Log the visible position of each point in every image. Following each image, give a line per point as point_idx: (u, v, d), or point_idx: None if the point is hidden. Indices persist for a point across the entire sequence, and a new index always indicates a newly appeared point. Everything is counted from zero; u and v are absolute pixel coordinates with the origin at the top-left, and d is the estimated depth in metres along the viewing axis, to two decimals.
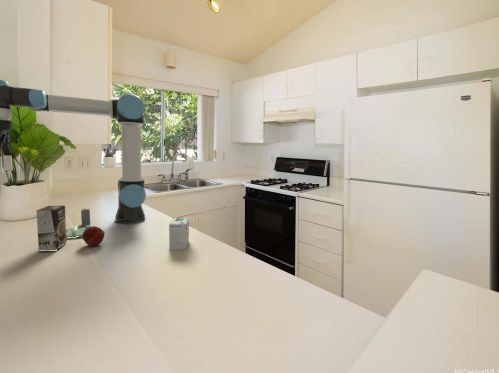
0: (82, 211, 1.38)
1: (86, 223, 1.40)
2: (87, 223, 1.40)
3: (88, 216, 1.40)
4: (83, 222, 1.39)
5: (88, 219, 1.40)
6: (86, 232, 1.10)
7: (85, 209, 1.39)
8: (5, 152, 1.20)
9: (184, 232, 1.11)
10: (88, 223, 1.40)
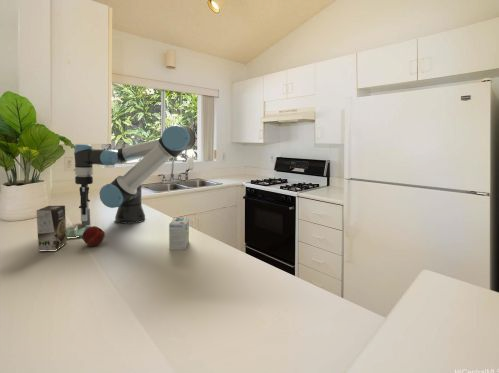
0: None
1: (86, 223, 1.40)
2: (87, 223, 1.40)
3: (88, 216, 1.40)
4: (83, 222, 1.39)
5: (88, 219, 1.40)
6: (86, 232, 1.10)
7: None
8: None
9: (184, 232, 1.11)
10: (88, 223, 1.40)
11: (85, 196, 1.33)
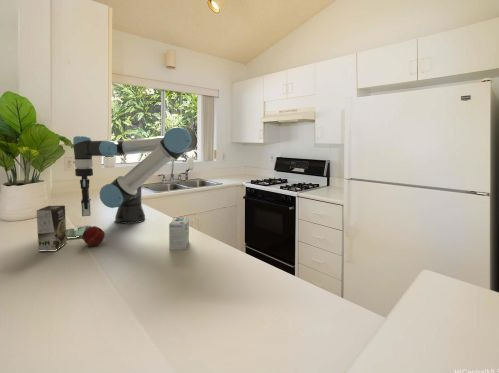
0: None
1: None
2: None
3: None
4: None
5: None
6: (86, 232, 1.10)
7: None
8: None
9: (184, 232, 1.11)
10: None
11: (86, 191, 1.34)
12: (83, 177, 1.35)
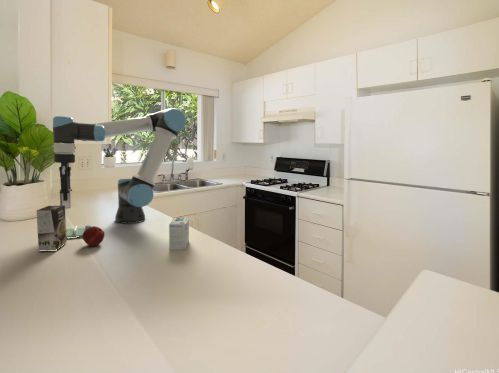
0: None
1: None
2: None
3: None
4: None
5: None
6: (86, 232, 1.10)
7: None
8: None
9: (184, 232, 1.11)
10: None
11: (66, 180, 1.16)
12: (63, 164, 1.17)
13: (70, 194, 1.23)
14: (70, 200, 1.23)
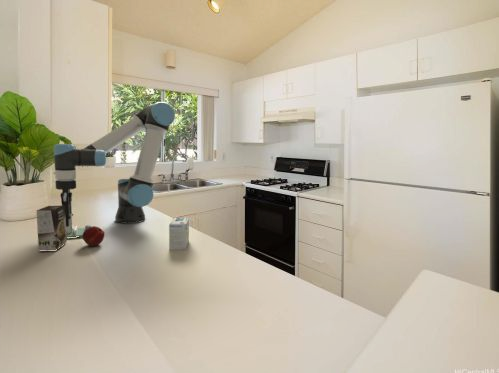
0: None
1: None
2: None
3: None
4: None
5: None
6: (86, 232, 1.10)
7: None
8: None
9: (184, 232, 1.11)
10: None
11: (67, 207, 1.18)
12: (64, 190, 1.18)
13: (71, 219, 1.25)
14: (71, 225, 1.24)
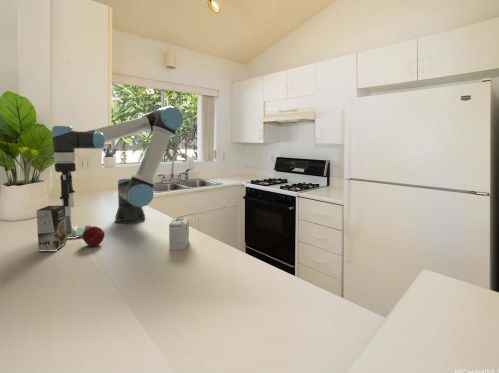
0: None
1: (67, 230, 1.22)
2: (68, 230, 1.22)
3: (68, 222, 1.22)
4: None
5: (69, 226, 1.22)
6: (86, 232, 1.10)
7: None
8: None
9: (184, 232, 1.11)
10: (69, 230, 1.23)
11: (66, 185, 1.15)
12: None
13: (70, 219, 1.24)
14: (71, 225, 1.24)
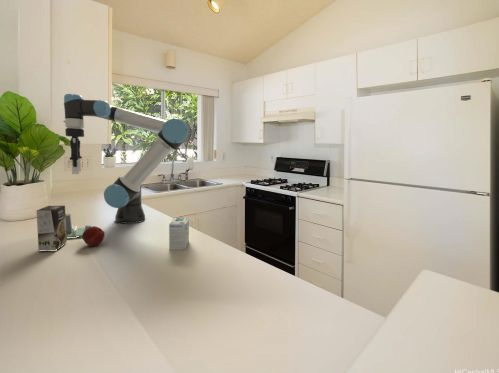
0: None
1: (67, 230, 1.22)
2: (68, 230, 1.22)
3: (68, 222, 1.22)
4: None
5: (69, 226, 1.22)
6: (86, 232, 1.10)
7: None
8: None
9: (184, 232, 1.11)
10: (69, 230, 1.23)
11: (76, 147, 1.27)
12: None
13: (70, 219, 1.24)
14: (71, 225, 1.24)
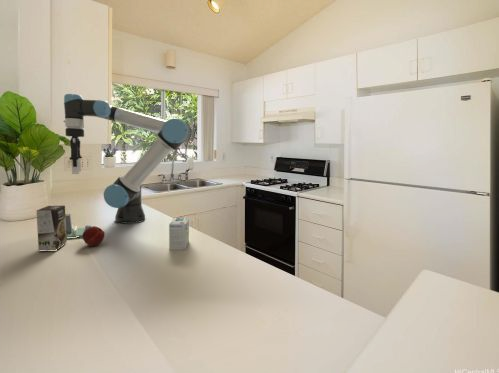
0: None
1: (67, 230, 1.22)
2: (68, 230, 1.22)
3: (68, 222, 1.22)
4: None
5: (69, 226, 1.22)
6: (86, 232, 1.10)
7: None
8: None
9: (184, 232, 1.11)
10: (69, 230, 1.23)
11: (76, 147, 1.27)
12: None
13: (70, 219, 1.24)
14: (71, 225, 1.24)
